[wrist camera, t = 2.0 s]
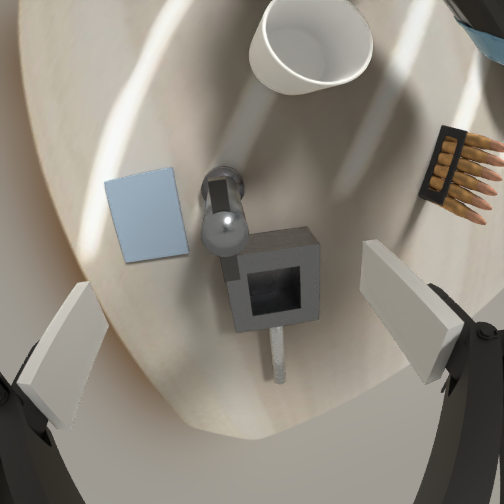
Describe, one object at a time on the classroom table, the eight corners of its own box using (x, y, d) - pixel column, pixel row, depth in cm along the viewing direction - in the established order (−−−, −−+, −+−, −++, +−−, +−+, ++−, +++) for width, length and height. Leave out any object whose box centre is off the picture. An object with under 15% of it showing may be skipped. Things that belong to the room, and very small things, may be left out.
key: (197, 157, 29) (180, 187, 17) (239, 151, 29) (254, 176, 17) (207, 219, 32) (201, 287, 20) (246, 213, 32) (264, 278, 20)
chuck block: (221, 238, 33) (222, 257, 29) (306, 226, 34) (319, 243, 29) (245, 371, 44) (248, 395, 39) (307, 361, 44) (315, 384, 40)
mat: (105, 181, 29) (104, 182, 28) (172, 166, 29) (171, 167, 29) (127, 260, 33) (125, 262, 33) (189, 251, 34) (188, 253, 33)
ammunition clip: (426, 200, 34) (486, 234, 23) (417, 195, 34) (478, 229, 23) (450, 131, 30) (515, 146, 19) (441, 124, 29) (508, 138, 19)
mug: (336, 14, 23) (382, -18, 13) (319, 104, 28) (364, 100, 18) (262, -7, 21) (281, -53, 12) (240, 86, 26) (250, 69, 17)
